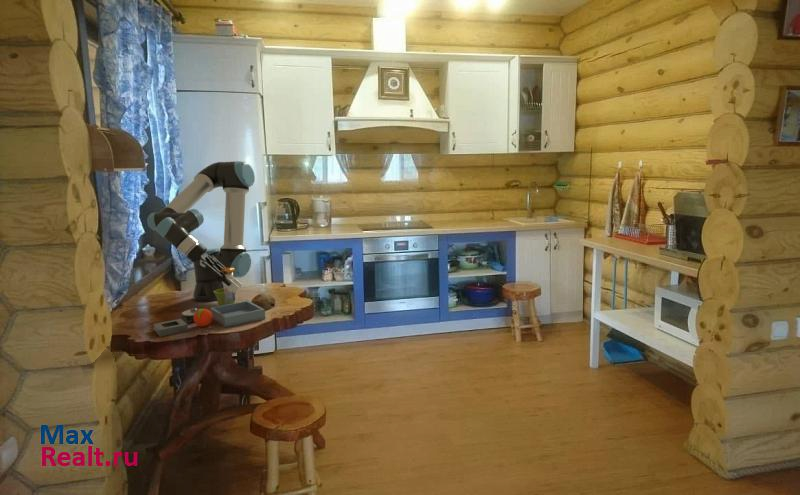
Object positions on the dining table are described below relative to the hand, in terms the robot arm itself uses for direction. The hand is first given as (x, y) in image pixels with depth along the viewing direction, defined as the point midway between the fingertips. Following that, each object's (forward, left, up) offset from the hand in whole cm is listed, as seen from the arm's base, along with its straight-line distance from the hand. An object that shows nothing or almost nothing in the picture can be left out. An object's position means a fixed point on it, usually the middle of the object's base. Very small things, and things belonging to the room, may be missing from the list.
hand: (238, 288), depth 195 cm
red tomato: (-1, -15, -13) cm, 20 cm away
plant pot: (-19, 0, -13) cm, 23 cm away
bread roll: (-11, +14, -13) cm, 22 cm away
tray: (-3, -1, -13) cm, 13 cm away
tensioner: (-9, -20, -13) cm, 26 cm away
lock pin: (-2, -3, -5) cm, 6 cm away
